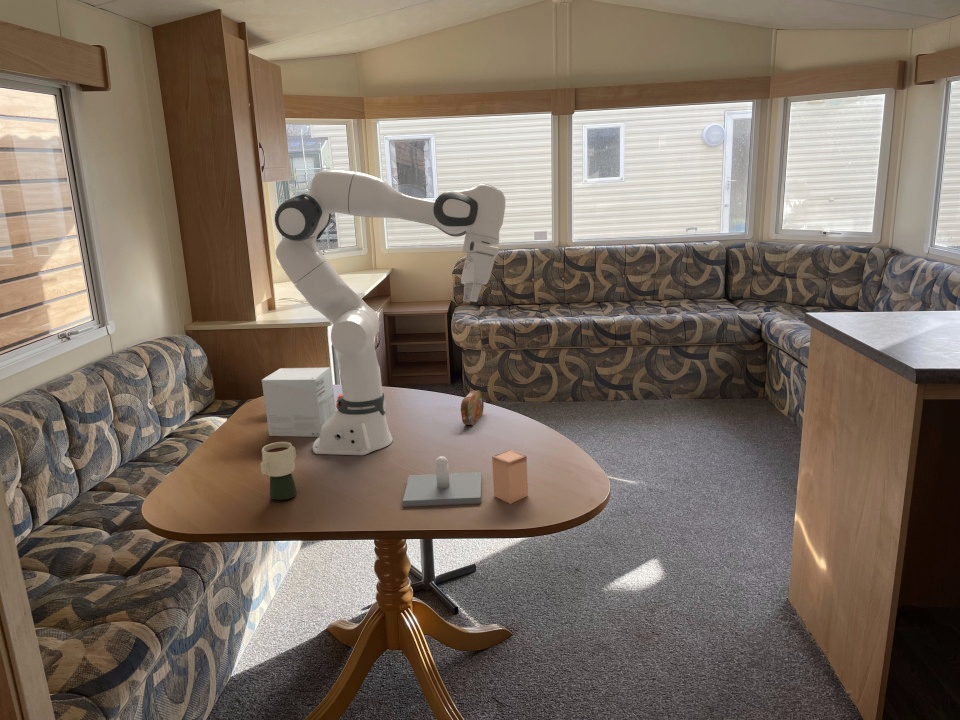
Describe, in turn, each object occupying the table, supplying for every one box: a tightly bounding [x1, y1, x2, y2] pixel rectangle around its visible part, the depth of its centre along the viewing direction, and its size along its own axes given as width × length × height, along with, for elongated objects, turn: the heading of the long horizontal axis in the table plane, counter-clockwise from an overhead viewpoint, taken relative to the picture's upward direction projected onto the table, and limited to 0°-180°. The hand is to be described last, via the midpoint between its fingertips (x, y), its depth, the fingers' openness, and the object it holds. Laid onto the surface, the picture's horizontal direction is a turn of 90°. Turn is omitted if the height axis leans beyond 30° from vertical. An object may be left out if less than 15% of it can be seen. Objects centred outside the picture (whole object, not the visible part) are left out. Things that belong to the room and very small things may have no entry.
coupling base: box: [402, 455, 482, 508], centre depth 168 cm, size 18×14×9 cm
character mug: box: [260, 441, 298, 501], centre depth 169 cm, size 11×7×13 cm, turn 150°
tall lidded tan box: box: [491, 449, 529, 505], centre depth 163 cm, size 6×6×10 cm
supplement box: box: [261, 366, 337, 438], centre depth 214 cm, size 17×13×18 cm
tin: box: [460, 390, 484, 426], centre depth 215 cm, size 15×3×8 cm, turn 162°
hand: (469, 301), depth 182 cm, fingers open, 8 cm apart
